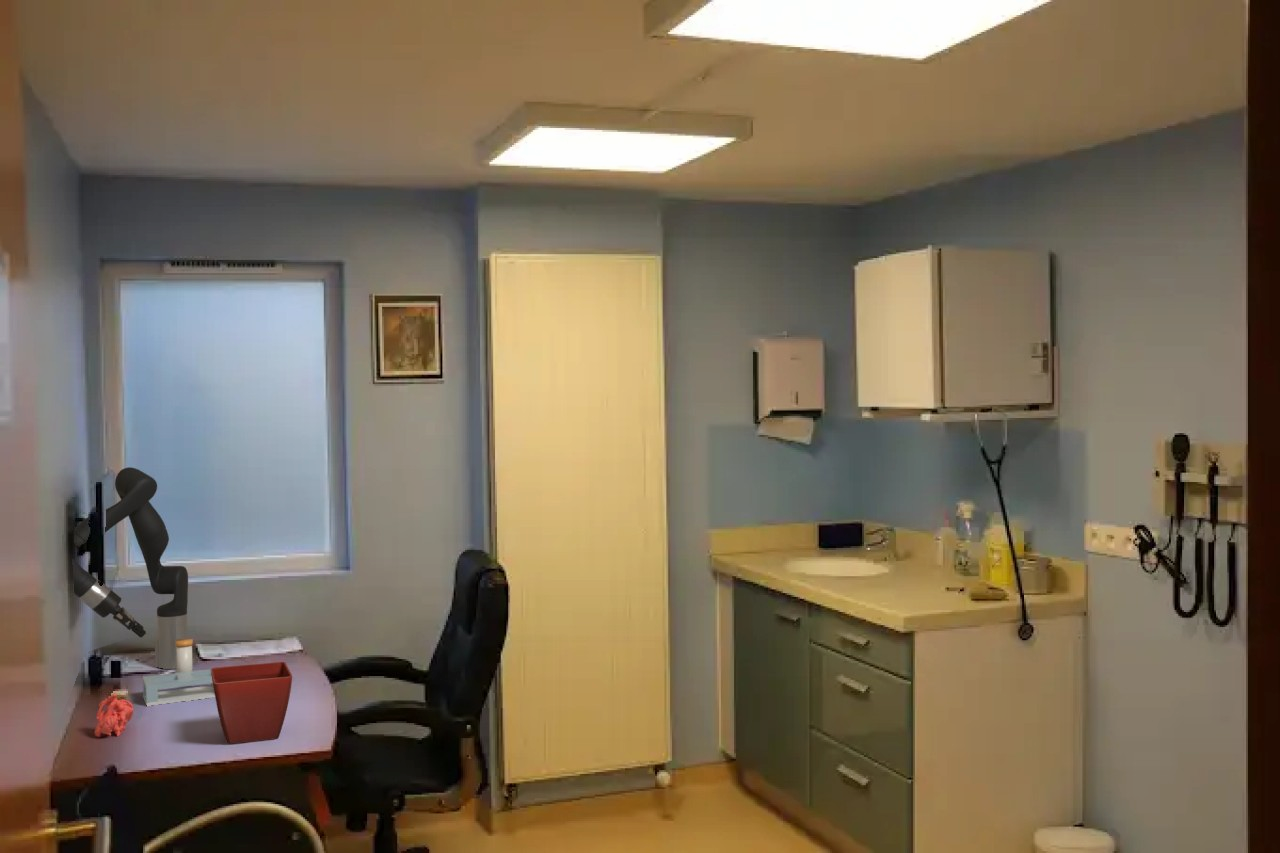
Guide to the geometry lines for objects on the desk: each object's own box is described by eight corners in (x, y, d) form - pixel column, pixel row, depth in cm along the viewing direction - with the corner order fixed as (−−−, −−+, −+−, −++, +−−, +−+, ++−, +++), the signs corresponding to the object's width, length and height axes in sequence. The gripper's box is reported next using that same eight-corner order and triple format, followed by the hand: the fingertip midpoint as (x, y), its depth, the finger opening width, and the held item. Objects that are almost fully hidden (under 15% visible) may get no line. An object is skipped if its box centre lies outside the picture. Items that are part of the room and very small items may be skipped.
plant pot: (286, 721, 315) (285, 660, 314) (294, 740, 297) (292, 675, 297) (211, 730, 308) (210, 667, 307) (215, 750, 290) (213, 683, 289)
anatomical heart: (129, 732, 312) (140, 690, 312) (122, 745, 300) (134, 701, 301) (94, 726, 309) (106, 684, 310) (86, 739, 298) (98, 695, 298)
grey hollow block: (146, 706, 332) (146, 685, 332) (143, 696, 342) (142, 676, 342) (227, 696, 342) (226, 676, 342) (221, 687, 353) (220, 668, 353)
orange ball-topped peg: (172, 687, 354) (171, 641, 353) (182, 683, 359) (181, 638, 358) (187, 687, 353) (186, 642, 352) (197, 683, 358) (196, 638, 357)
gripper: (111, 592, 339) (154, 627, 345) (108, 585, 351) (149, 619, 357) (91, 611, 337) (135, 646, 342) (89, 604, 349) (131, 638, 355)
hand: (142, 632), depth 350 cm, fingers open, 8 cm apart
